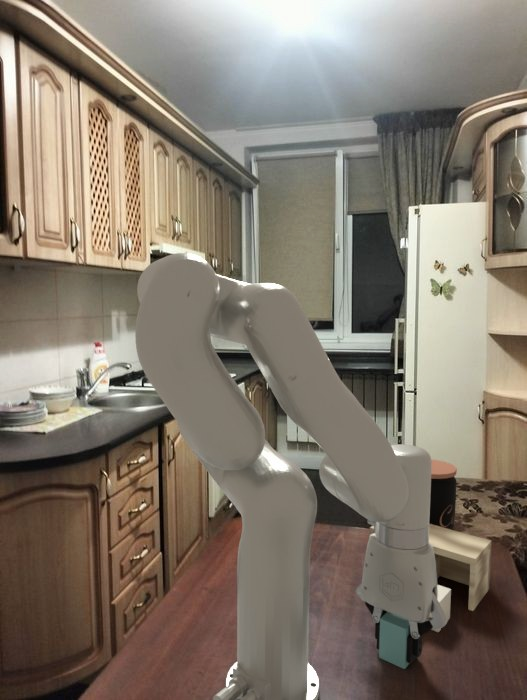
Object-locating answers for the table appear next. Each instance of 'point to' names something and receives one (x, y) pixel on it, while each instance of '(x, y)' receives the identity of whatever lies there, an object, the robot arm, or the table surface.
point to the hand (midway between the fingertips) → (397, 650)
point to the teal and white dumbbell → (404, 631)
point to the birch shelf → (462, 560)
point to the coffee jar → (443, 494)
